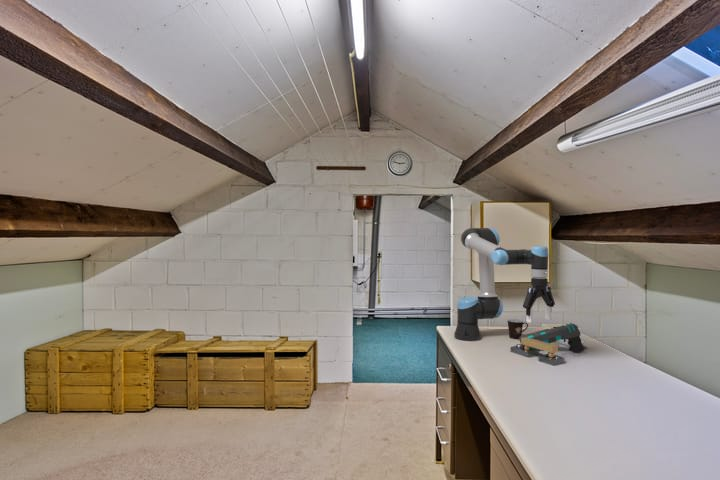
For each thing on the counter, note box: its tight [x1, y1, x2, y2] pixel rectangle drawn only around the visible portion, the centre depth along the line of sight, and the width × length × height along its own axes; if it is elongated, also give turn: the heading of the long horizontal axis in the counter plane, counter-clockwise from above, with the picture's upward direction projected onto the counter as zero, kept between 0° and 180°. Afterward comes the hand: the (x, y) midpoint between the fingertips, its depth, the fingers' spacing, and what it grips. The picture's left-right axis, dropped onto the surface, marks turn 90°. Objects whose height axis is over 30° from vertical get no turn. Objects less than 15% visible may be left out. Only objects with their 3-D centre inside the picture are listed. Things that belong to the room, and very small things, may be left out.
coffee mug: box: [507, 318, 529, 340], centre depth 239 cm, size 12×9×10 cm
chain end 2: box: [537, 353, 565, 366], centre depth 194 cm, size 8×8×3 cm
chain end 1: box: [509, 343, 540, 358], centre depth 208 cm, size 11×8×4 cm
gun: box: [518, 322, 585, 354], centre depth 214 cm, size 7×29×15 cm, turn 83°
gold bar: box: [520, 337, 559, 358], centre depth 201 cm, size 18×4×8 cm, turn 28°
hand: (538, 320), depth 201 cm, fingers open, 13 cm apart
